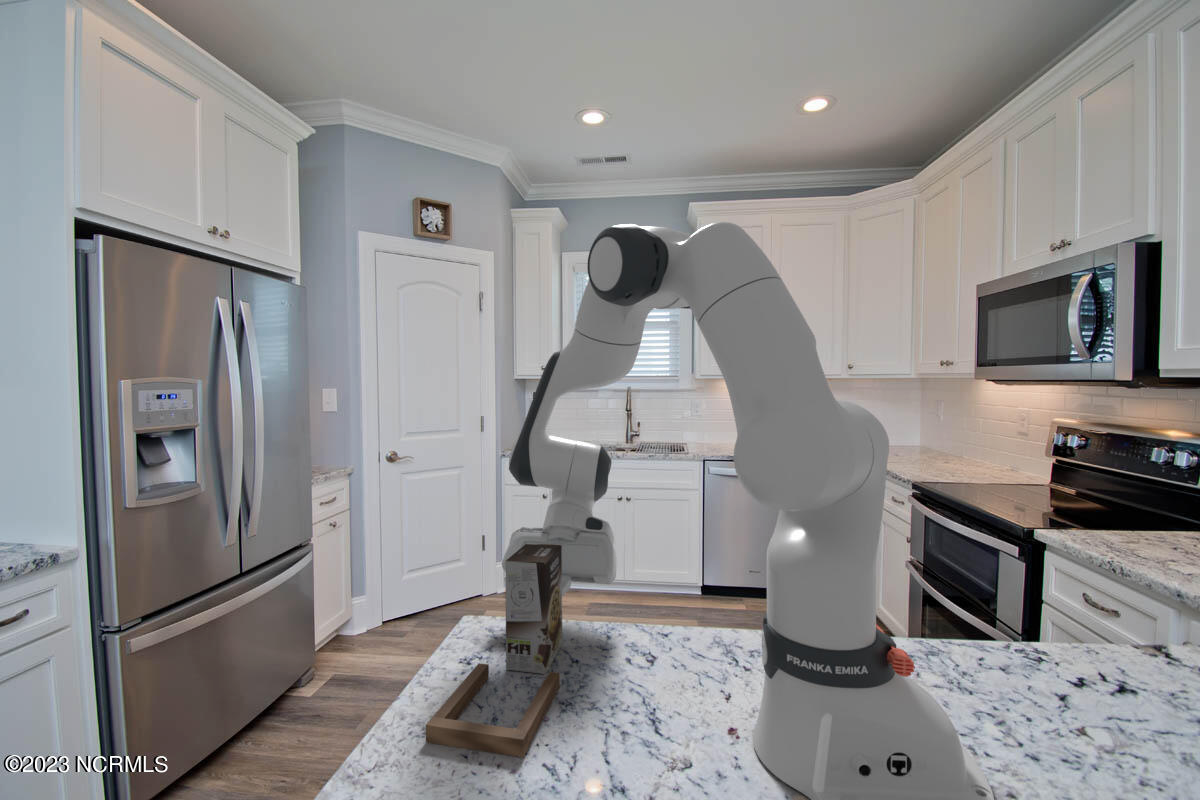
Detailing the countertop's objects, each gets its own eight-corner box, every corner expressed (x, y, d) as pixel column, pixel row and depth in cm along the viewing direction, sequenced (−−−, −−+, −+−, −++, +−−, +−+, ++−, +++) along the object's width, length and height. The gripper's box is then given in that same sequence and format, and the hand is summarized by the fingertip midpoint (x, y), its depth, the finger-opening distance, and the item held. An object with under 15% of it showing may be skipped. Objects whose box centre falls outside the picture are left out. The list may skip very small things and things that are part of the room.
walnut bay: (559, 687, 68) (559, 672, 68) (523, 757, 55) (523, 739, 55) (478, 677, 71) (478, 663, 71) (425, 742, 58) (425, 724, 58)
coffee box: (547, 675, 71) (545, 562, 71) (504, 670, 73) (503, 560, 72) (564, 643, 80) (563, 543, 80) (526, 640, 81) (525, 541, 81)
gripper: (509, 518, 93) (486, 590, 83) (617, 523, 88) (606, 600, 79) (518, 535, 97) (498, 606, 88) (622, 541, 92) (612, 616, 83)
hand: (550, 603), depth 83 cm, fingers closed
